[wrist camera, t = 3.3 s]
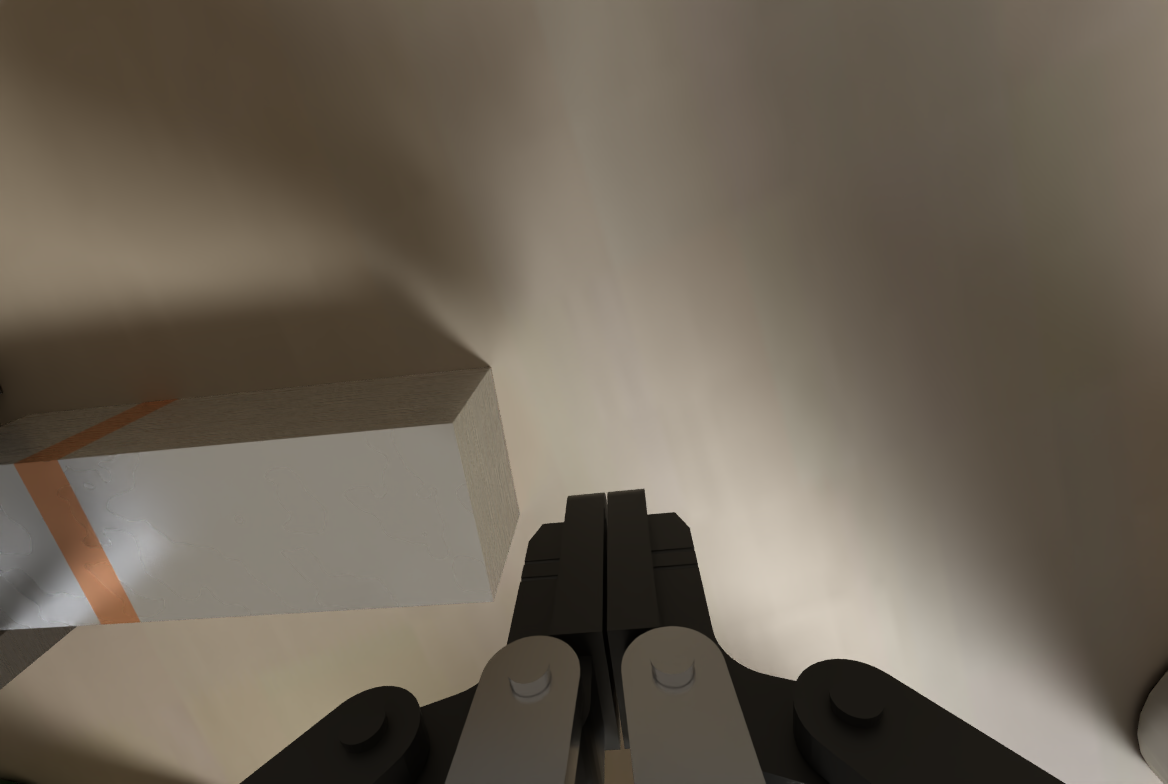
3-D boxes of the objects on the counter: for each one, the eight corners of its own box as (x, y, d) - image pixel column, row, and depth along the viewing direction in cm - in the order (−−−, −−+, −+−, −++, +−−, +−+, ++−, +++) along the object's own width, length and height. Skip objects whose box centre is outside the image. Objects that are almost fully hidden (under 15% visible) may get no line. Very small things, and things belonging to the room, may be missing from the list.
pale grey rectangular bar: (491, 366, 16) (452, 422, 13) (520, 513, 18) (493, 601, 14) (32, 413, 18) (-124, 476, 14) (99, 544, 20) (-23, 631, 16)
